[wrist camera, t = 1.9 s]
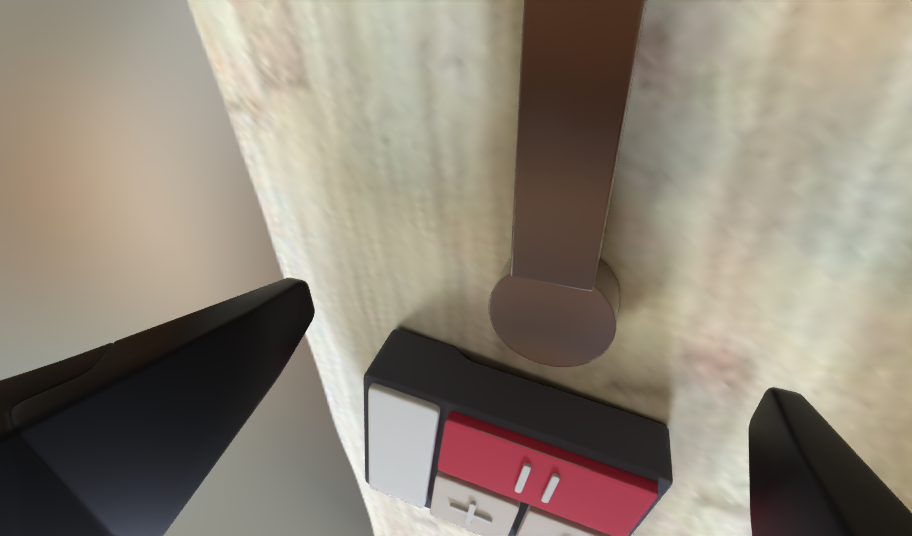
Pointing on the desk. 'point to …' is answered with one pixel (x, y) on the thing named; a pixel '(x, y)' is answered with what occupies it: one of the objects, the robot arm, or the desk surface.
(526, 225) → the spoon
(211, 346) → the robot arm
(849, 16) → the desk surface
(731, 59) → the desk surface
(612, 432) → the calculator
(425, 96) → the desk surface
